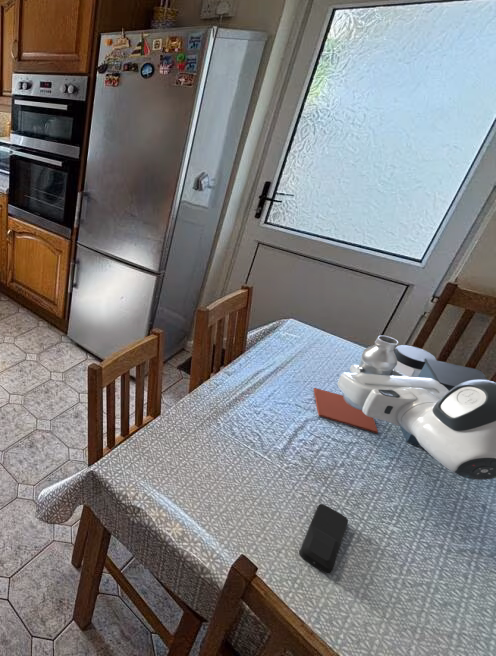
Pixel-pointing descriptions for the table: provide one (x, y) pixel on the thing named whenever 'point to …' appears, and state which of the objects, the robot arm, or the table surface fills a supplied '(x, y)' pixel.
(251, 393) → the table surface
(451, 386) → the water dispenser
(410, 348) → the jar
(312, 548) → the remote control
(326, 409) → the mat
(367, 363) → the plastic bottle
